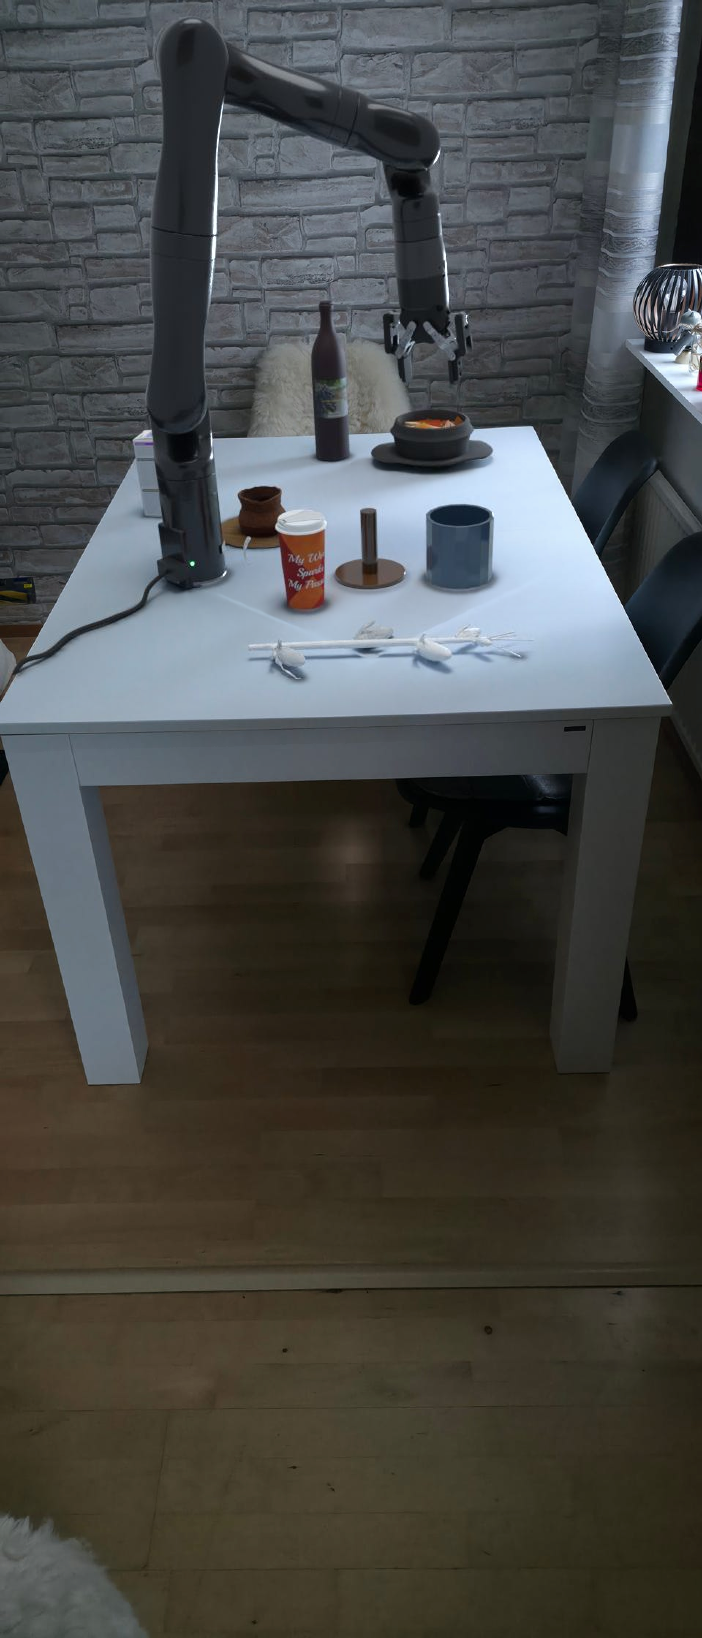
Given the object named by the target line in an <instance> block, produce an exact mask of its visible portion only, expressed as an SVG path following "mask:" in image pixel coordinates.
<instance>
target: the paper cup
mask: <svg viewBox="0 0 702 1638" xmlns="http://www.w3.org/2000/svg"><path fill="white" fill-rule="evenodd" d="M327 527H328V522H327V521H326V518H325V516H324V515H323V514H322V513H321V512H319V511H316V510H311V509H294V510H293V509H292V510H289V511H286V512H285V513H283V514H281V515H280V516H279V517H278V520H277V524H276V526H275V528H276V530H277V531H278V536H279V544H280V546H279V551H280V559H281V568H282V575H283V580H284V588H285V595H286V601H287V605H288V606H289V608H292V609H295V610H301V611H303V610H304V611H306V610H307V611H308V610H313V609H317V608H319V607H321V606H323V605H324V603H325V583H326V581H325V577H326V576H325V574H326V571H325V570H326V569H325V568H326V566H325V564H326V563H325V562H326V559H325V558H326V528H327Z"/></svg>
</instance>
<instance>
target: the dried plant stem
mask: <svg viewBox="0 0 702 1638" xmlns="http://www.w3.org/2000/svg"><path fill="white" fill-rule="evenodd" d="M250 540H251V538H250V537H247V539H246V540H245V543H244V547H243V556H244V560H245V561H246V563H247V565H250V563H249V560H248V557H247V548H248V547H247V545H248V543H249V541H250ZM375 623H376V620H371V621H370V622H367V623H366V624H363V626H362V627H360V628H359V629H358V631H357V632H356V634H355V636H353V638H352V639H346V640H345V639H343V640H342V639H341V640H340V639H339V640H319V641H318V640H317V641H294V642H293V641H292V642H283V640H282V639H281V638H279V639H278V640H277V642H275V643H256V644H255V643H254V644H248V651H249V652H254V651H255V652H257V651H258V652H261V651H263V652H264V651H265V652H266V651H267V652H268V651H271V652H272V653H270V654H269V656H268V657H269V660H270V661H271V660H275V664H277V665H278V666H279V667H281V670H283V671H285V672H286V673H287V674H289V675H290V676H291V677H293V678H295V679H296V680H301V679H302V677H297V676H296V675H294V673H292V672H291V671H289V670H288V669H284V667H283V665H285V666H287V667H289V668H292V667H303V666H304V665H305V664H306V658H305V656H304V655H303V654H302V653H301V652H299V651H304V650H305V651H307V650H339V649H340V650H341V649H368V648H370V649H371V648H392V647H393V648H394V647H414V648H413V649H412V654H414V655H416V654H417V655H419V656H421V657H422V658H425V659H426V660H429V661H431V662H436V661H437V662H438V661H440V662H445V661H448V660H450V659H451V658H452V656H453V655H452V651H450V649H449V648H447V647H446V646H443V645H452V644H467V643H470V644H471V643H472V644H476V645H477V646H480V647H491V646H493V647H496V648H498V649H501V650H502V651H505V652H507V653H509V654H512V655H513V656H516V657H519V658H521V657H522V655H520V654H518V653H516V652H513V651H512V650H509V649H507V648H504V647H503V646H500V645H498V644H495V643H493V641H496V642H497V641H498V642H499V641H519V642H520V641H521V642H522V641H523V642H524V641H525V642H526V641H527V642H532V641H533V642H534V640H535V638H511V637H516V636H517V634H516V632H515V630H512V631H508V632H504V633H503V632H502V633H499V634H495V635H488V636H485V637H484V636H480V635H481V633H482V630H481V628H479V627H470V626H471V623H467V624H466V625H463V626H462V627H461V628H460V629H459V630H458V631H457V633H456V634H454V637H427V633H426V632H423V633H422V634H421V636H420V637H410V638H409V637H408V638H391V637H392V636H393V635H394V632H395V631H394V628H392V627H390V626H375V627H372V626H373V625H374V624H375ZM370 627H371V628H370ZM469 627H470V628H469ZM509 637H510V638H509Z"/></svg>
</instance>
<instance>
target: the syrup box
mask: <svg viewBox="0 0 702 1638" xmlns="http://www.w3.org/2000/svg"><path fill="white" fill-rule="evenodd" d="M132 445H133V449H134V457H135V464H136V471H137V476H138V483H139V488H140V494H141V502H142V506H143V507H142V508H143V513H144V516H145V517H149V518H150V517H152V518H162V513H161V506H160V498H159V490H158V483H157V475H156V469H155V462H154V450H153V438H152V430H151V429H147V430H145V429H144V430H143V431H142V432H141V433H140V434H138V435H137V436H135V438H133V439H132Z"/></svg>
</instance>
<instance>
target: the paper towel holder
mask: <svg viewBox="0 0 702 1638" xmlns="http://www.w3.org/2000/svg"><path fill="white" fill-rule="evenodd" d="M359 515H360V516H359V519H360V548H361V550H360V551H361V554H360V555H361V558H357V559H352V560H350V561H347V562H344V563H342V564H340V565H339V566H338V567H337V568H336V569H335V570H334V578H335V580H336V581H337V582H338V583H339V584H340V585H342V586H346V587H349V588H354V589H359V590H361V589H362V590H372V589H382V588H387V587H391V586H394V585H396V584H398V583H400V582H402V581H403V580H404V579H405V578H406V572H407V571H406V568H405V566H404V565H403V564H401V563H400V562H398V561H395V560H392V559H388V558H379V549H378V548H379V547H378V545H379V544H378V510H377V509H376V508H374V507H363V508H361V509H360V511H359Z"/></svg>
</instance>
